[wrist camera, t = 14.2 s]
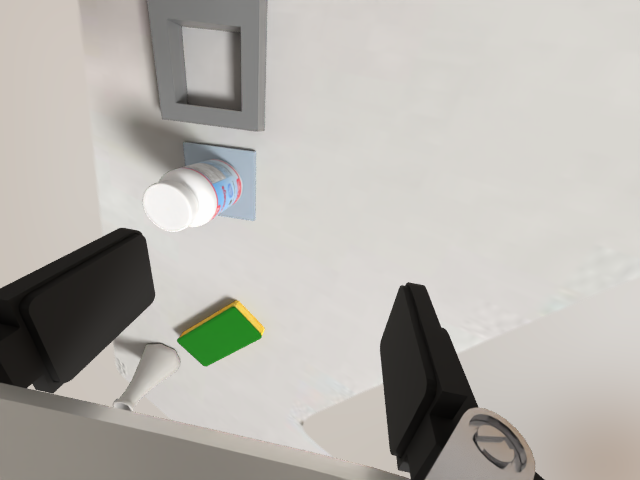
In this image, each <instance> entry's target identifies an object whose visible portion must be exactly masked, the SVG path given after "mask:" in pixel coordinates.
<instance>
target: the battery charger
mask: <svg viewBox="0 0 640 480" xmlns="http://www.w3.org/2000/svg"><path fill="white" fill-rule="evenodd" d="M147 5H148V13H149V21H150V29H151V37H152V44H153V52H154V60H155V68H156V76H157V84H158V92H159V100H160V108H161V116H162V119H165V120H173V121H180V122H188V123H196V124H203V125H211V126H219V127H226V128H234V129H242V130H249V131H257V132H258V131H264V127H265V84H266V40H267V0H147ZM181 26H184V27H193V28H202V29H211V30H220V31H229V32H238V33H241V95H242V111H238V110H230V109H222V108H214V107H206V106H199V105H191V104H188V97H187V85H186V73H185V62H184V50H183V39H182V27H181Z"/></svg>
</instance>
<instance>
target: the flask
mask: <svg viewBox="0 0 640 480" xmlns="http://www.w3.org/2000/svg"><path fill="white" fill-rule="evenodd" d="M180 363H181V361H180V359H179V357H178V355H177V353H176V351H175V350H173V349H171V348H169V347H167V346H164V345H162V344H147V345H146V347H145V350H144V352H143V355H142V357H141V360H140V362H139V365H138V367H137V369H136V372H135V374H134V376H133V379H132V381H131V382H130V384H129V386H128V387H127V389H126V391H125V392H124V393H123V394H122V396H121V397H120V398H119V399H116V400H115V401H114V403H113V407H114V408H118V409H123V410H127V411H132V412H133V410H134V407H135V406H136V404H137V403H138V401H140V399H142V398H143V397H144V396H145V395H146V394H147V393H148V392H149V391H150V390H152V389H153V388H154V387H155V386H157V385H158V384H159V383H161V382H162V381H163V380H165V379H166V378H168V377H169V376H171V375H172V374H173V373H175V372H176V371H177V370H178V368H179V365H180Z"/></svg>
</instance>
